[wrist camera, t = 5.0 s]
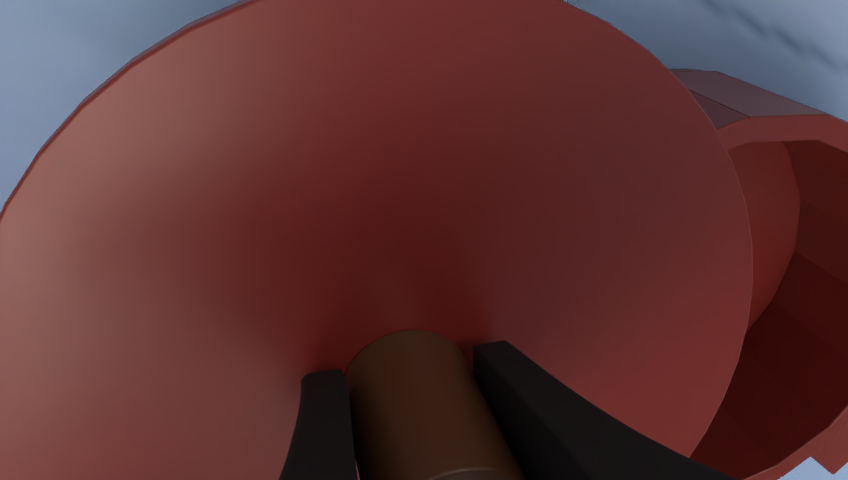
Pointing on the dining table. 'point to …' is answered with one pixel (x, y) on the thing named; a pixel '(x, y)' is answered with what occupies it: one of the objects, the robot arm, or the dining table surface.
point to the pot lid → (365, 242)
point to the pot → (784, 283)
